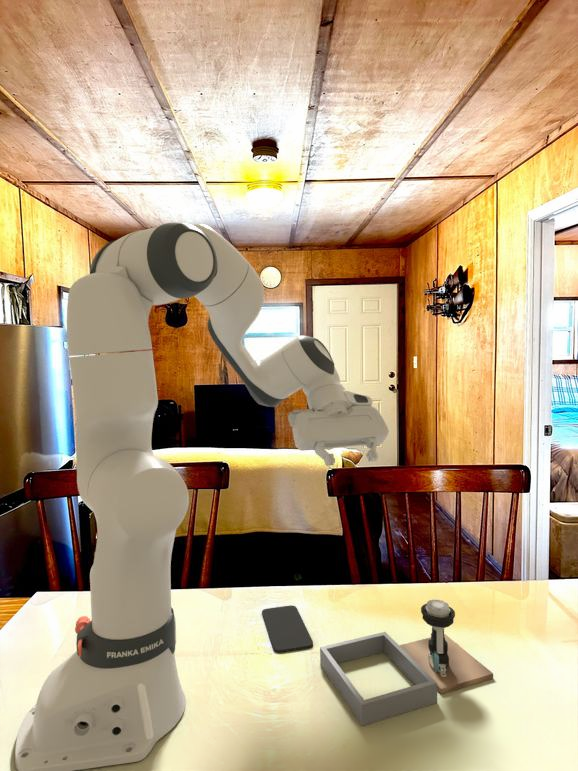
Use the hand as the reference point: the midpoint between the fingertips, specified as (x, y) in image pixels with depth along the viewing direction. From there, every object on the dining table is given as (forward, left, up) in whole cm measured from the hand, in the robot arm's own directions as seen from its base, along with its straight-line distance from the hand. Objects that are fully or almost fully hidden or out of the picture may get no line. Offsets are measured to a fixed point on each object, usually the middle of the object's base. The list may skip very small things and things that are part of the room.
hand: (352, 461), depth 93 cm
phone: (-14, +2, -32) cm, 35 cm away
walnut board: (+7, -18, -31) cm, 37 cm away
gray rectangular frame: (-6, -18, -31) cm, 37 cm away
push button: (+5, -20, -31) cm, 37 cm away
